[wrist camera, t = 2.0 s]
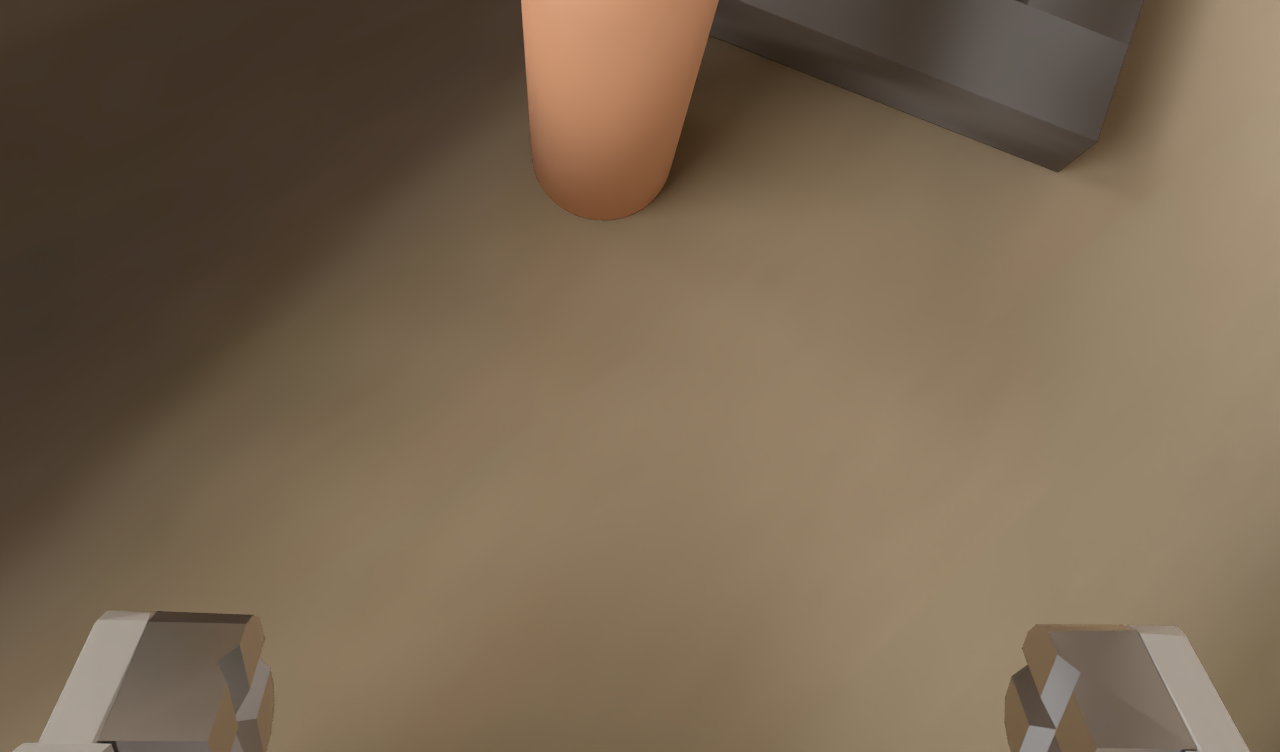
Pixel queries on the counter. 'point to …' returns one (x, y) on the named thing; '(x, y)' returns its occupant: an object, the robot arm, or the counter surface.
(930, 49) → the brown wooden tall frame
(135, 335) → the counter surface
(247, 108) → the counter surface
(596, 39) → the peg
